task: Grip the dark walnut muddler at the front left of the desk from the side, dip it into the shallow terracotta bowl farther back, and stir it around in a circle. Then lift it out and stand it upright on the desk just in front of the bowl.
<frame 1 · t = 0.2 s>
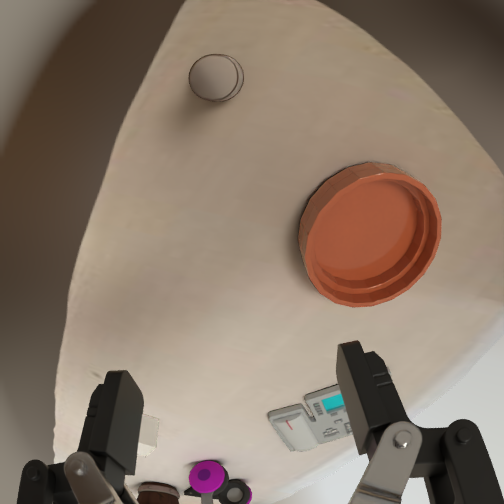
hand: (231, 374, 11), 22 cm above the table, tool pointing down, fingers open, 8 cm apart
muddler: (219, 78, 25), on the table
bowl: (365, 228, 34), on the table
flowerpot: (159, 486, 72), on the table
cell phone: (217, 492, 75), on the table
white cube: (138, 419, 51), on the table
headphones: (222, 471, 65), on the table
office telephone: (335, 412, 53), on the table
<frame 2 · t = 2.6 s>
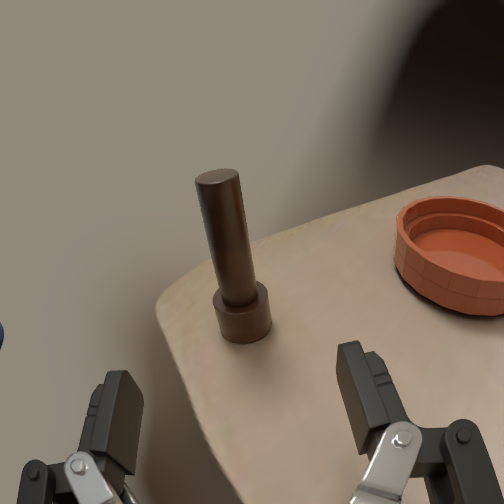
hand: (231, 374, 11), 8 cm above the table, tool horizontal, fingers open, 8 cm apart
muddler: (245, 324, 25), on the table
bowl: (465, 266, 26), on the table
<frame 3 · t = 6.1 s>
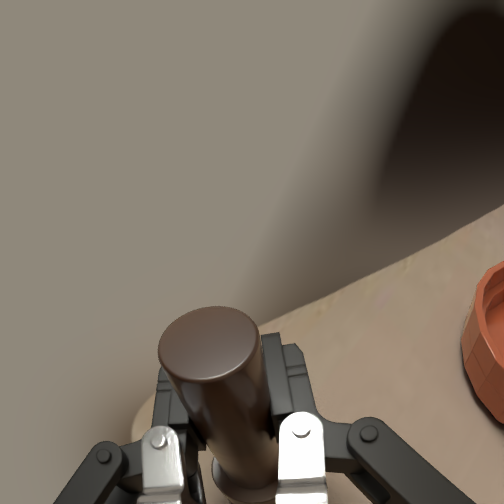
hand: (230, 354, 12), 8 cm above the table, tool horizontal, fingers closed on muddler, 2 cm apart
muddler: (261, 482, 14), on the table, touching gripper
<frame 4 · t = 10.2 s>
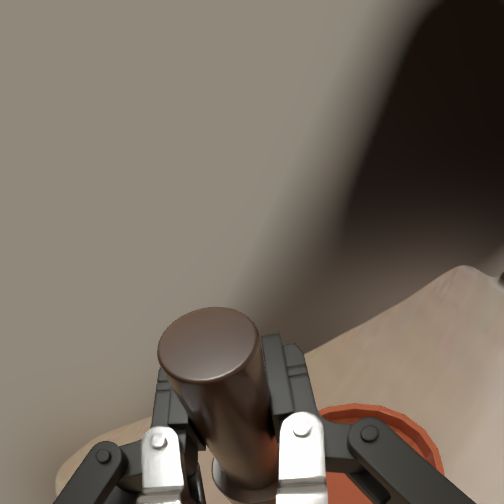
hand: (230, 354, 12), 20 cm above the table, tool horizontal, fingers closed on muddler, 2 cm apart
muddler: (261, 482, 14), point 12 cm above the table, touching gripper
bowl: (346, 493, 21), on the table
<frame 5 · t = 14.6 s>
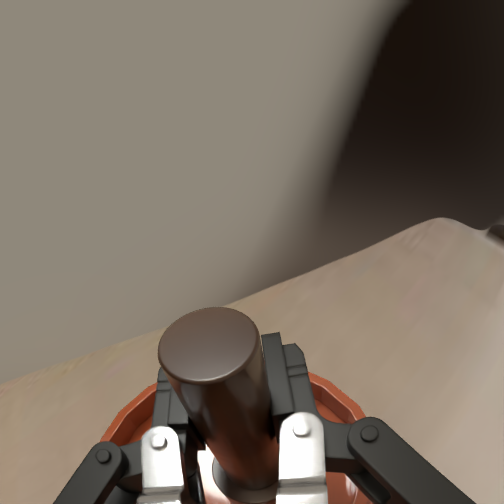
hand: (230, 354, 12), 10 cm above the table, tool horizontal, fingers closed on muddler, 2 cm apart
muddler: (261, 482, 14), point 2 cm above the table, touching gripper
bowl: (240, 492, 15), on the table
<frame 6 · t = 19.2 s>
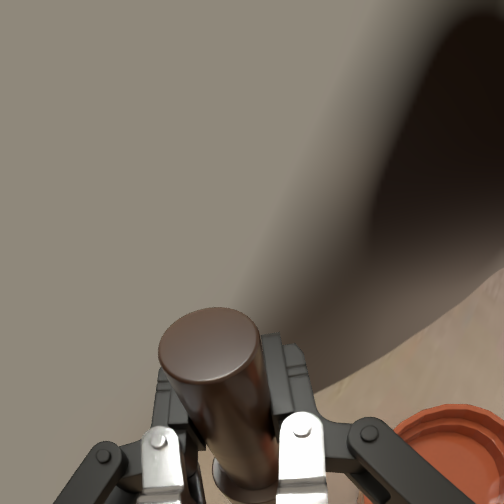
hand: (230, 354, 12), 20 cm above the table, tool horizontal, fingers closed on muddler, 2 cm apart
muddler: (261, 482, 14), point 12 cm above the table, touching gripper
bowl: (438, 492, 18), on the table
when the fingers open (8 cm above the table, at t = 23.1 s): muddler stays where it is, on the table.
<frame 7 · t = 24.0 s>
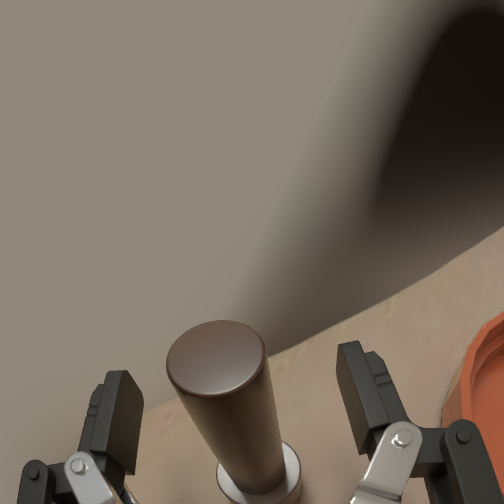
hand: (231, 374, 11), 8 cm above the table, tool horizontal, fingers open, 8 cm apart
muddler: (264, 486, 14), on the table
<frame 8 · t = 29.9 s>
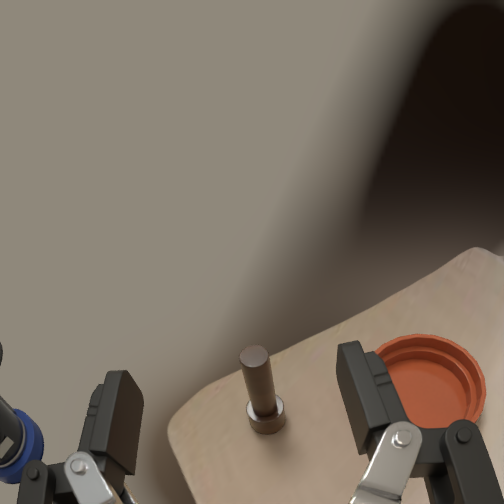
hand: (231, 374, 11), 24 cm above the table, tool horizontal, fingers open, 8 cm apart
muddler: (267, 419, 33), on the table
bowl: (417, 402, 31), on the table
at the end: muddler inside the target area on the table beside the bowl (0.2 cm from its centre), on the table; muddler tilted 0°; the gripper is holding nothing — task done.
